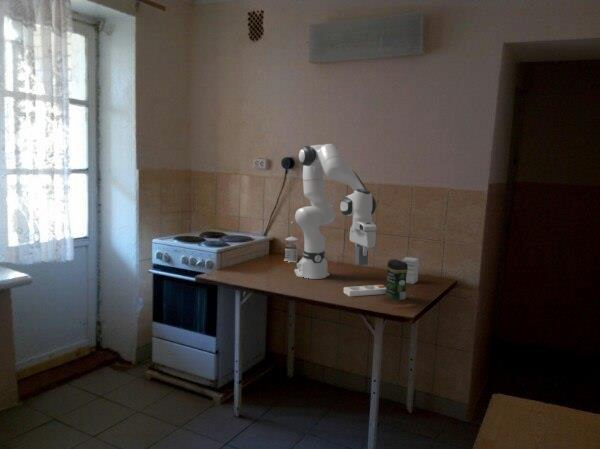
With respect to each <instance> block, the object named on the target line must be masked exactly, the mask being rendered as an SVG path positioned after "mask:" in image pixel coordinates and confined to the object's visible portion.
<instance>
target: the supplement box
mask: <svg viewBox="0 0 600 449" xmlns="http://www.w3.org/2000/svg"><path fill="white" fill-rule="evenodd" d="M401 261H402V262H405V263H407V265H408V270H407V275H406V284H411V285H414V284H415V283H417V282H418V281H419V280H418V279H419V263H420V259H419V258H417V257H410V256H409V257H408V256H405V257H404V258H402V259H401Z"/></svg>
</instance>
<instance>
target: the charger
mask: <svg viewBox="0 0 600 449" xmlns="http://www.w3.org/2000/svg"><path fill="white" fill-rule="evenodd" d="M362 251H363V246H362V245H360V246H355V247H354V264H355V265H358V266H367V265H368V264H369V263H368V262H369V249H368V250H367V255H366V256H363V255H362Z"/></svg>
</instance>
